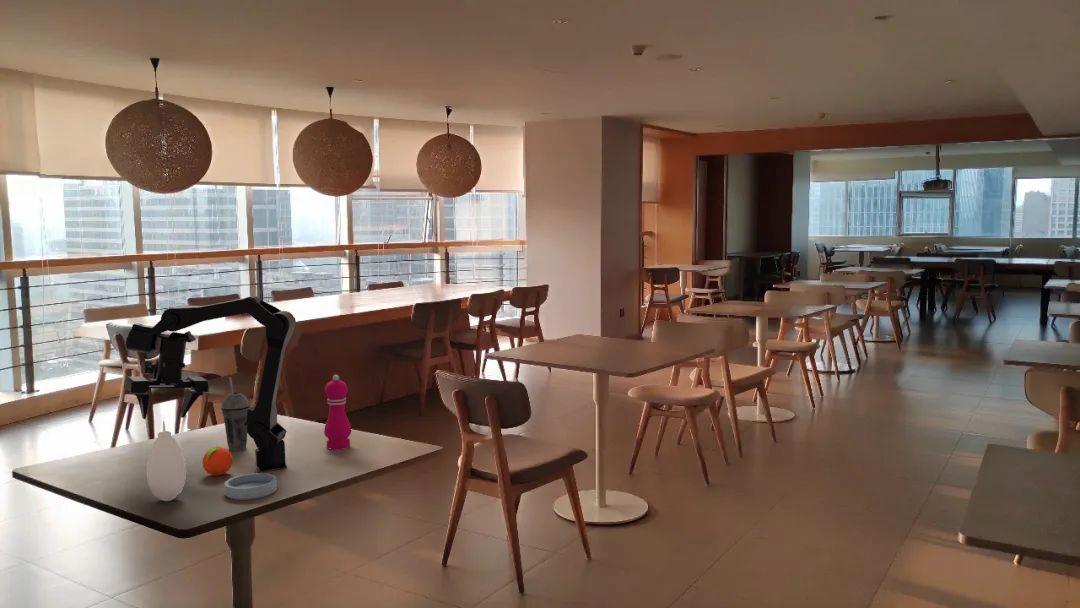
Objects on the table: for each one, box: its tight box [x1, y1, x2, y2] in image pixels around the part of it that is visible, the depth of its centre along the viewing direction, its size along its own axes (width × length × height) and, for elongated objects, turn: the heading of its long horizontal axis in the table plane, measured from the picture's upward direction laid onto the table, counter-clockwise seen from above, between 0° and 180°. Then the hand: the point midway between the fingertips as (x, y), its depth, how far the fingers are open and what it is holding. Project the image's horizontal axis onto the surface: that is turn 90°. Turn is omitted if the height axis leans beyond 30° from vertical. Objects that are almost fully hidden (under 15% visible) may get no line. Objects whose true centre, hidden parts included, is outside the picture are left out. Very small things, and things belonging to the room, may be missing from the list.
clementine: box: [201, 446, 234, 476], centre depth 199 cm, size 8×7×7 cm
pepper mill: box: [323, 374, 352, 450], centre depth 223 cm, size 7×7×20 cm
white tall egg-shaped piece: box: [146, 420, 187, 502], centre depth 181 cm, size 8×8×18 cm
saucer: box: [224, 472, 278, 501], centre depth 187 cm, size 11×11×3 cm
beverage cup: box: [221, 376, 251, 452], centre depth 222 cm, size 7×7×20 cm
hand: (163, 418), depth 204 cm, fingers open, 9 cm apart
